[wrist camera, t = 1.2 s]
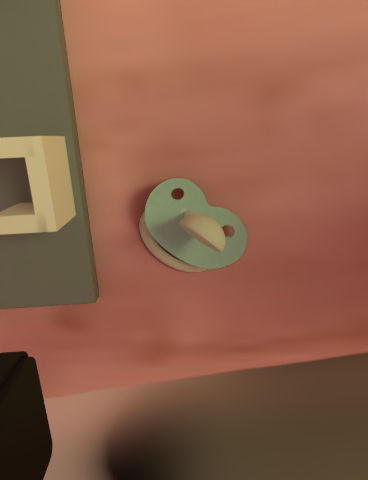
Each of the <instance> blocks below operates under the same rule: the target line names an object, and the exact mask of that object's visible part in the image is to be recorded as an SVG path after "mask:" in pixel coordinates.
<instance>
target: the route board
mask: <svg viewBox="0 0 368 480" xmlns="http://www.w3.org/2000/svg"><path fill="white" fill-rule="evenodd" d="M98 296H99V292H98V284H97V277H96V269H95V262H94V254H93V247H92V239H91V232H90V224H89V217H88V209H87V202H86V194H85V187H84V179H83V172H82V164H81V157H80V149H79V142H78V134H77V127H76V119H75V112H74V104H73V97H72V89H71V82H70V74H69V67H68V59H67V52H66V44H65V37H64V29H63V22H62V14H61V7H60V0H0V309H7V308H23V307H38V306H54V305H70V304H86V303H96V301H97V299H98Z"/></svg>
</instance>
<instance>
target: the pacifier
mask: <svg viewBox="0 0 368 480" xmlns="http://www.w3.org/2000/svg"><path fill="white" fill-rule="evenodd" d="M176 188H180V189H182V190H183V191H184V195H183V197H182V198H181V199H178V200H177V199H174V198H173V197H172V196H171V193H172V191H173V190H174V189H176ZM226 225H230V226H232V227H233V229H234V233H233V235H231V236H229V237H227V236H225V234H224V231H223V229H222V228H223V227H224V226H226ZM139 230H140V234H141V237H142V239H143V241H144V243H145V245H146V247H147V248H148V249H149V250H150V251H151V252H152V254H153V255H154V256H156V257H157V258H158V259H159V260H161V261H162V262H163V263H165V264H167V265H169V266H170V267H172V268H175V269H178V270H181V271H185V272H192V273H194V272H203V271H205V270H208V269H219V268H223V267H226V266H229V265H230V264H232V263H234V262H235V261H237V260H238V259H239V258H240V257H241V256H242V254H243V253H244V251H245V248H246V245H247V232H246V229H245V226H244V224H243V222H242V221H241V220H240V219H239V218H238V217H237V216H236V215H235V214H234V213H232V212H231V211H229V210H227V209H225V208H221V207H215V206H210V205H209V204H208V203H207V201H206V198H205V196H204V194H203V192H202V191H201V189H200V188H199V187H198V186H197V185H196V184H195V183H193V182H191V181H190V180H187V179H184V178H171V179H168V180H165V181H163V182H162V183H160V184H159V185H157V186H156V187H155V188H154V189H153V191H152V192H151V194H150V195H149V197H148V200H147V202H146V206H145V212H143V214H142V216H141V218H140V222H139ZM169 252H170V253H169Z"/></svg>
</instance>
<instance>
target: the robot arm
mask: <svg viewBox="0 0 368 480" xmlns="http://www.w3.org/2000/svg"><path fill="white" fill-rule="evenodd" d="M51 454H52V439H51V433H50V429H49V424H48V419H47V414H46V409H45V405H44V399H43V394H42V390H41V385H40V380H39V375H38V370H37V365H36V361H35V359H34V358H33V357H28V354H27V353H26V352H24V351H22V352H6V353H0V480H43V478H44V475H45V473H46V470H47V467H48V464H49V462H50V458H51Z"/></svg>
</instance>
